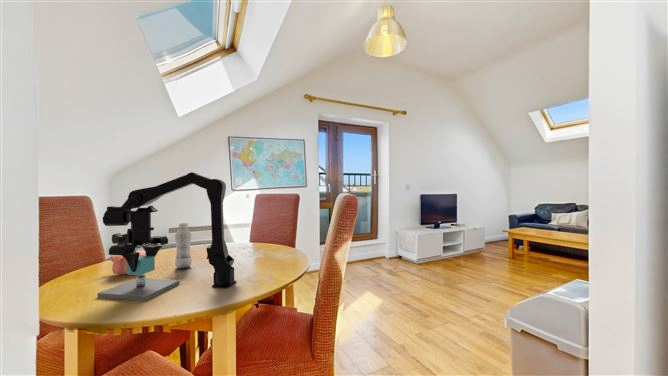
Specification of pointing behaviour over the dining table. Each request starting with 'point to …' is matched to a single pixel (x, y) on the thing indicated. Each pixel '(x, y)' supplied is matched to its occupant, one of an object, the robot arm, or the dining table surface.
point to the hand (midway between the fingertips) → (141, 269)
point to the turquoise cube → (143, 265)
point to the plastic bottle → (183, 246)
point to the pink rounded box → (121, 264)
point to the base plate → (138, 290)
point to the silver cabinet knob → (140, 281)
